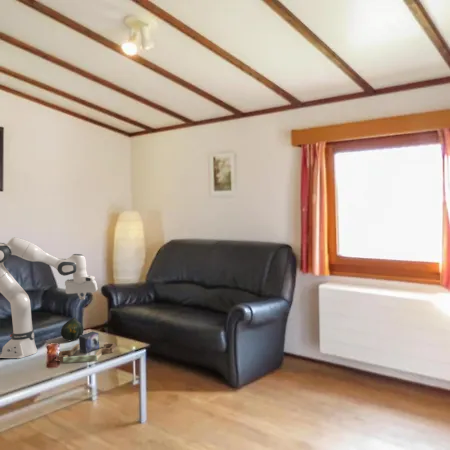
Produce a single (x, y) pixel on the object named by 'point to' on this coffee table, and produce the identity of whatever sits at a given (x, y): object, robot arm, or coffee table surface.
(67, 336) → the squash
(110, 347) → the trap lane
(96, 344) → the small box
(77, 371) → the coffee table surface
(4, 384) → the coffee table surface
